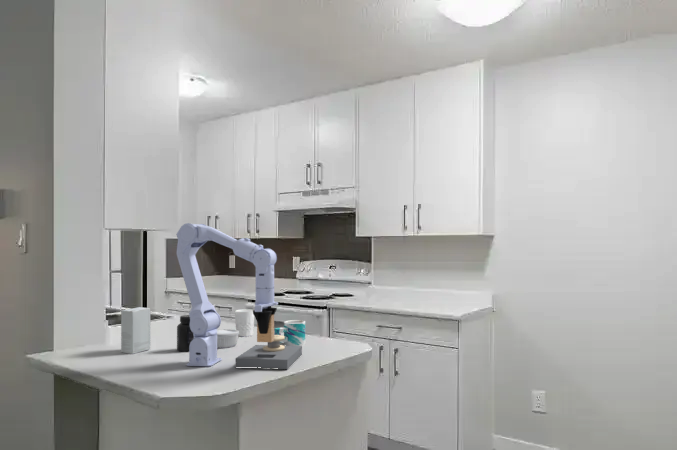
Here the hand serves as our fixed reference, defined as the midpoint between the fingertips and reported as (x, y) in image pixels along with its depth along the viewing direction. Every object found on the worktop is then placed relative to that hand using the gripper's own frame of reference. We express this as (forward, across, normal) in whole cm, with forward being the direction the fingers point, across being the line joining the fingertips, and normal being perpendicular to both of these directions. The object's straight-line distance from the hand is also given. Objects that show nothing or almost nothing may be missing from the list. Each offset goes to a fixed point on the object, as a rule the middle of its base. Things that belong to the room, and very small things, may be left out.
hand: (265, 332), depth 159 cm
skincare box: (+10, +15, +51) cm, 54 cm away
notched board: (+10, +6, 0) cm, 12 cm away
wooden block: (+3, 0, 0) cm, 3 cm away
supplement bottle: (+10, +19, +34) cm, 40 cm away
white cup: (+10, +49, +23) cm, 55 cm away
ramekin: (+10, +28, +24) cm, 38 cm away
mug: (+10, +32, 0) cm, 34 cm away
